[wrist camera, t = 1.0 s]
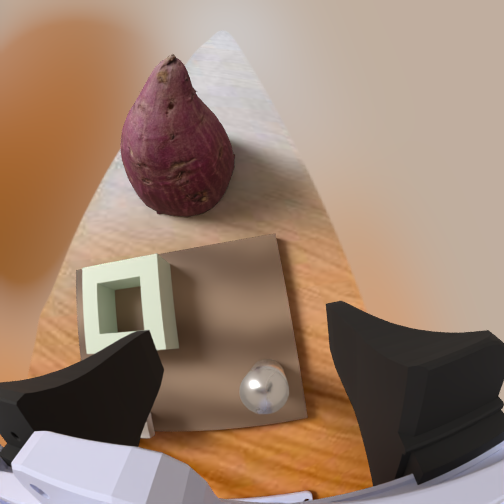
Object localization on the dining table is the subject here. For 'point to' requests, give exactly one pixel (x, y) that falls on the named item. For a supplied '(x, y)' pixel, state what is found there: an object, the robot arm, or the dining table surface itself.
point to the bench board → (217, 335)
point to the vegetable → (175, 145)
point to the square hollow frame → (152, 294)
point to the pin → (264, 387)
